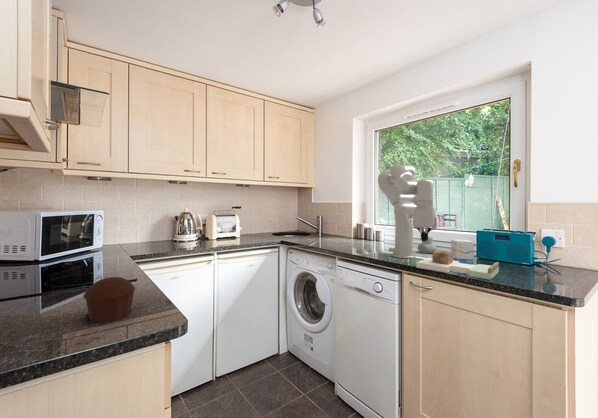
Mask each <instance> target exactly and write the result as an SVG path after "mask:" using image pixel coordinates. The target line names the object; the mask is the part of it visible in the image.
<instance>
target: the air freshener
mask: <svg viewBox="0 0 598 418" xmlns="http://www.w3.org/2000/svg"><path fill="white" fill-rule="evenodd" d="M417 250H418V251H419V252H420V253H422V254H426V255H427V254H433V252H434V251H437V245H435V244H434V243H433V237H432V236H428V240H427V241H422V240H421V242H420V243H419V244H418V246H417Z"/></svg>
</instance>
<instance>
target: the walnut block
mask: <svg viewBox="0 0 598 418" xmlns="http://www.w3.org/2000/svg"><path fill="white" fill-rule="evenodd" d="M431 254H432V257H431V258H432V262H433V263H440V264H447V265H449V264H451V263H453V252H451V251H445V250H439V249H438V250H436V251H434V252H433V253H431Z"/></svg>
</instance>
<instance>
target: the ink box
mask: <svg viewBox="0 0 598 418" xmlns="http://www.w3.org/2000/svg"><path fill="white" fill-rule="evenodd" d="M474 245H475V242H474V241H473V240H469V239H459V238H456V239H451V240H450V252H453V261H459V263H464V264H471V265H474V258H475V256H474V253H475V252H474V250H475V248H474Z"/></svg>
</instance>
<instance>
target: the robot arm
mask: <svg viewBox="0 0 598 418" xmlns="http://www.w3.org/2000/svg"><path fill="white" fill-rule="evenodd" d="M415 175H416V168H415V167H414V166H413V165H411V164H399V163H398V164H394V165H392V166H391V167H390V168H389V171H384V172H381V173H380V174H379V175H378V176H377V183H378V187H379V189H380V191H381V192H382V193H383V194H384V195H385V197H386V198H387V199H388V201H389V203H390V204H391V205H392V206H393V215H394V222H395V224H394V225H395V226H394V230H395V231H394V247H389V248H388V252H392V254H391V256H392V257H395V258H397V259H398V258H399V259H414V258H416V255H415V254H413V238H414V236H413V235H414V230H417V231H418V232H419V233H420V240H421V242H422V241H427V240H428V237H429V233H430V232H431V231H433V230H437V216H436V214H437V213H436V209H435V207H433V206H434V183H433V182H434V181H433V180H432V179H419V180H413V178H414V177H415ZM411 219H412V222H411Z"/></svg>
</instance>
